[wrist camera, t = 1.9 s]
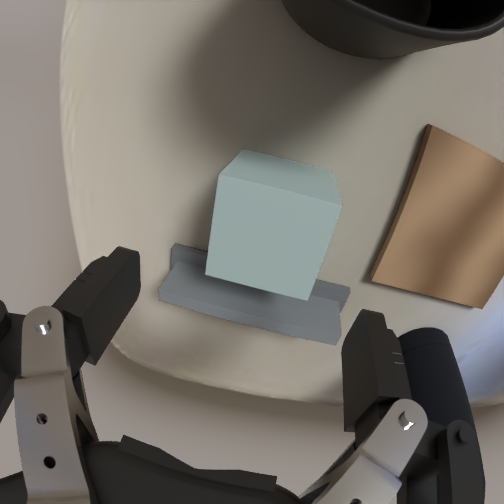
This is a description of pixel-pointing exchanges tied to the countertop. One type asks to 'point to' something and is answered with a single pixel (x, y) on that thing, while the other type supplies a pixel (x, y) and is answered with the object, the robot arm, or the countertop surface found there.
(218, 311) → the grey angle bar
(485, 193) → the coaster
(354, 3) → the mug
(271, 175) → the letter cube
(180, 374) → the countertop surface
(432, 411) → the wine bottle
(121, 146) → the countertop surface
